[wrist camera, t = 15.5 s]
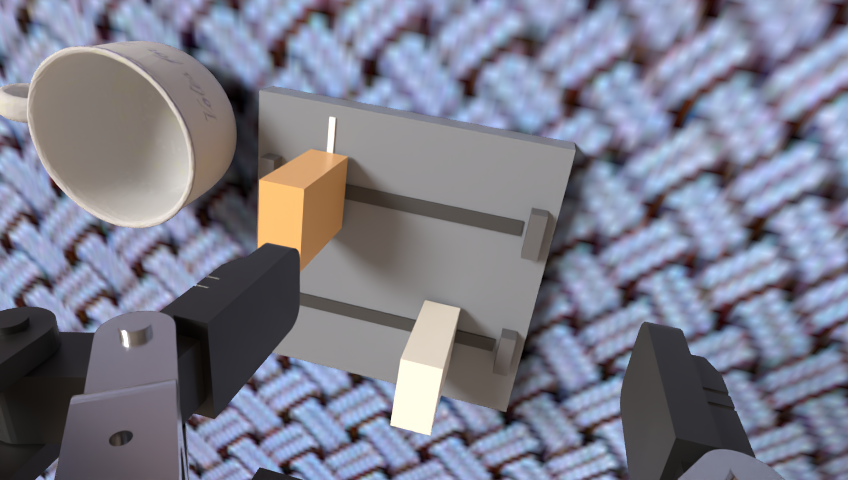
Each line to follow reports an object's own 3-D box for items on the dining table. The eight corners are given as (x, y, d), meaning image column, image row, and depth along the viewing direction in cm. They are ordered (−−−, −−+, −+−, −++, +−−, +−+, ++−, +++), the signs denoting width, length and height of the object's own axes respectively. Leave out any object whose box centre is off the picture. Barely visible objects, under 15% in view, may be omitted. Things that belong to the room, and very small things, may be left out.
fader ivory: (460, 308, 37) (443, 369, 31) (448, 366, 39) (430, 435, 33) (425, 300, 37) (400, 358, 31) (415, 358, 39) (390, 425, 33)
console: (574, 142, 34) (577, 155, 31) (507, 394, 42) (504, 423, 39) (273, 86, 36) (249, 92, 33) (266, 334, 44) (247, 356, 42)
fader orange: (348, 156, 34) (304, 189, 28) (341, 227, 37) (299, 273, 30) (311, 148, 35) (259, 179, 28) (306, 220, 37) (257, 263, 31)
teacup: (277, 85, 36) (210, 103, 29) (233, 217, 41) (166, 261, 34) (93, -14, 36) (-20, -19, 29) (69, 130, 41) (-33, 156, 34)
